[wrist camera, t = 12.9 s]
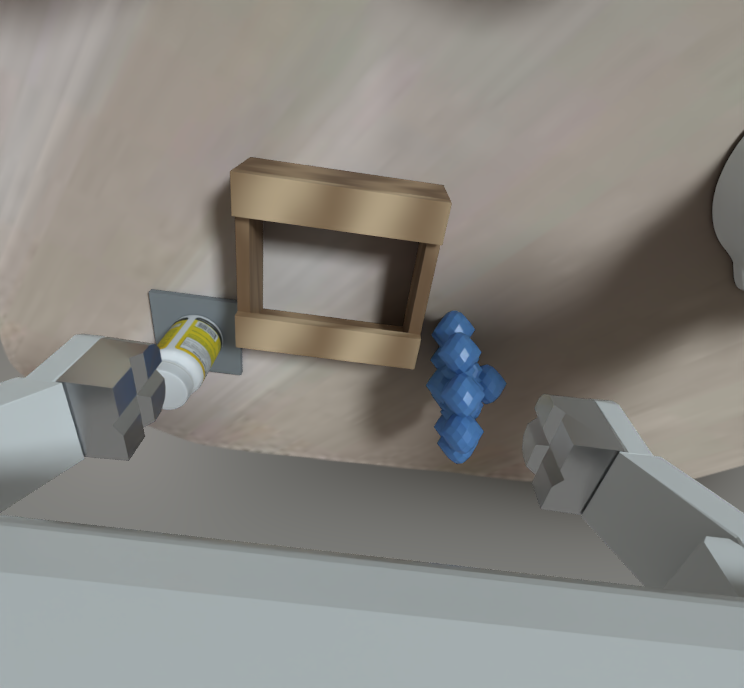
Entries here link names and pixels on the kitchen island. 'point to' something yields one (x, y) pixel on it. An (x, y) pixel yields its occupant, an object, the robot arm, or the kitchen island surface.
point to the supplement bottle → (187, 357)
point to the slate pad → (217, 310)
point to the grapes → (460, 386)
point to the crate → (341, 213)
